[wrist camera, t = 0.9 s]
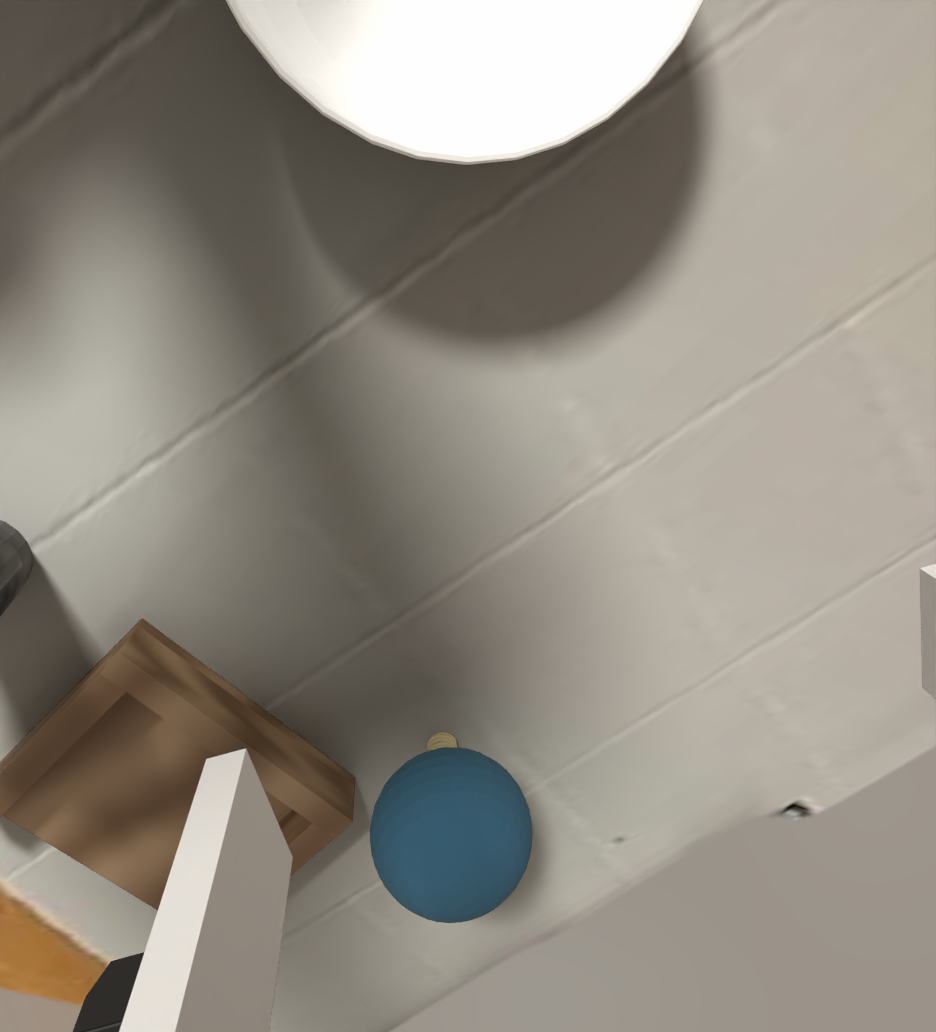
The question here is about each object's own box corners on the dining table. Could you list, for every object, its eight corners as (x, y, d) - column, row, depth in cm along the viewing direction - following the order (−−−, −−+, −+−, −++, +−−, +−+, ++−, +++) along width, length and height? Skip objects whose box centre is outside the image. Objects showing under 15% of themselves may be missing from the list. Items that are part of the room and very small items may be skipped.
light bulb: (394, 666, 46) (398, 808, 34) (528, 697, 47) (572, 842, 36) (356, 781, 48) (347, 948, 37) (483, 807, 50) (512, 974, 39)
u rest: (-24, 786, 46) (-59, 832, 42) (142, 618, 43) (120, 653, 39) (194, 920, 51) (180, 972, 47) (355, 777, 48) (352, 821, 44)
